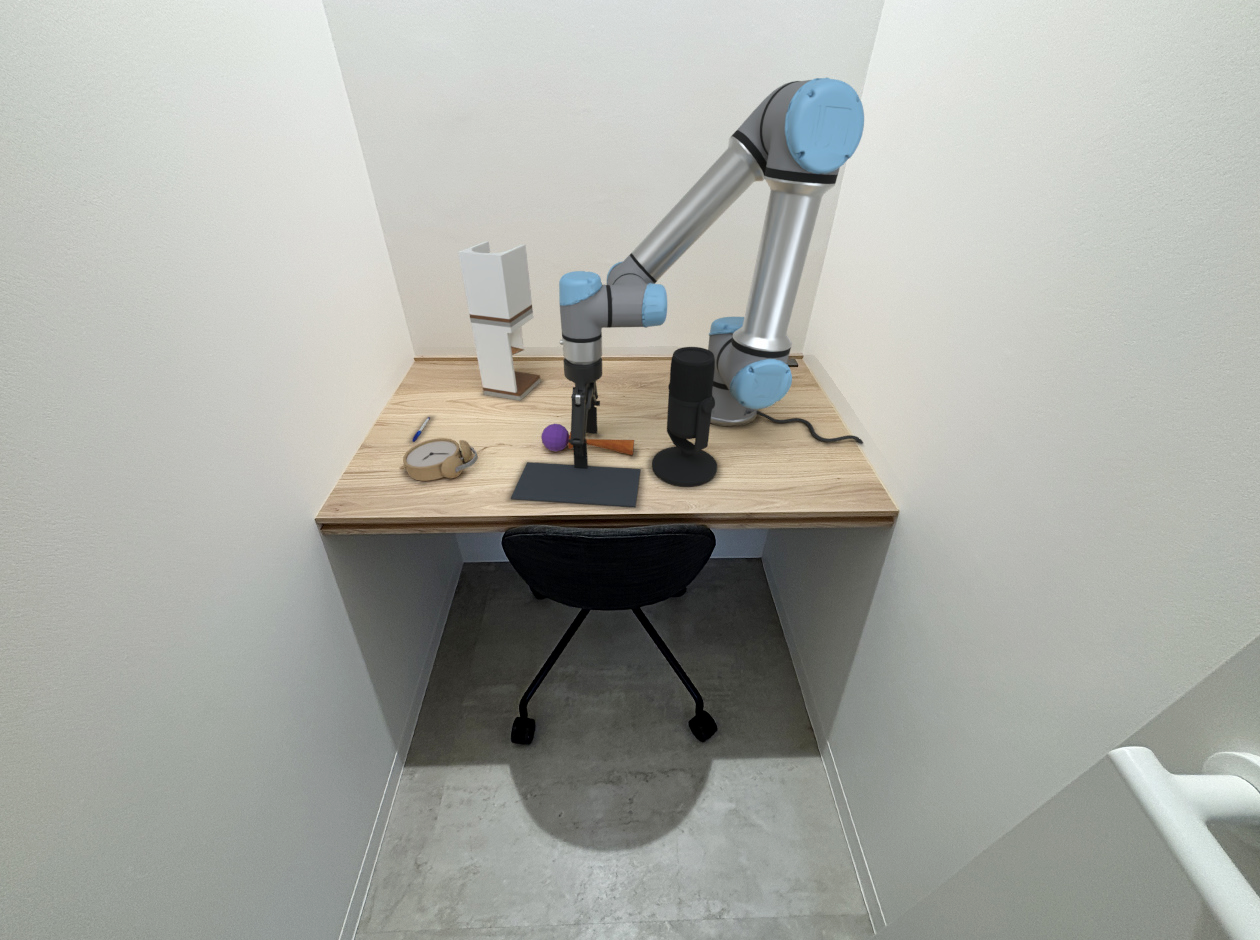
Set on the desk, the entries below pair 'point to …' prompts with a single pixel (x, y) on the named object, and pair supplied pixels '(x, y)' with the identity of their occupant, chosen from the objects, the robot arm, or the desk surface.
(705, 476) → the microphone
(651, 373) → the desk surface
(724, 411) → the robot arm
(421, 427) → the ballpoint pen
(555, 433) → the kendama
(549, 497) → the mat
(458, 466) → the alarm clock
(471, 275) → the display case
